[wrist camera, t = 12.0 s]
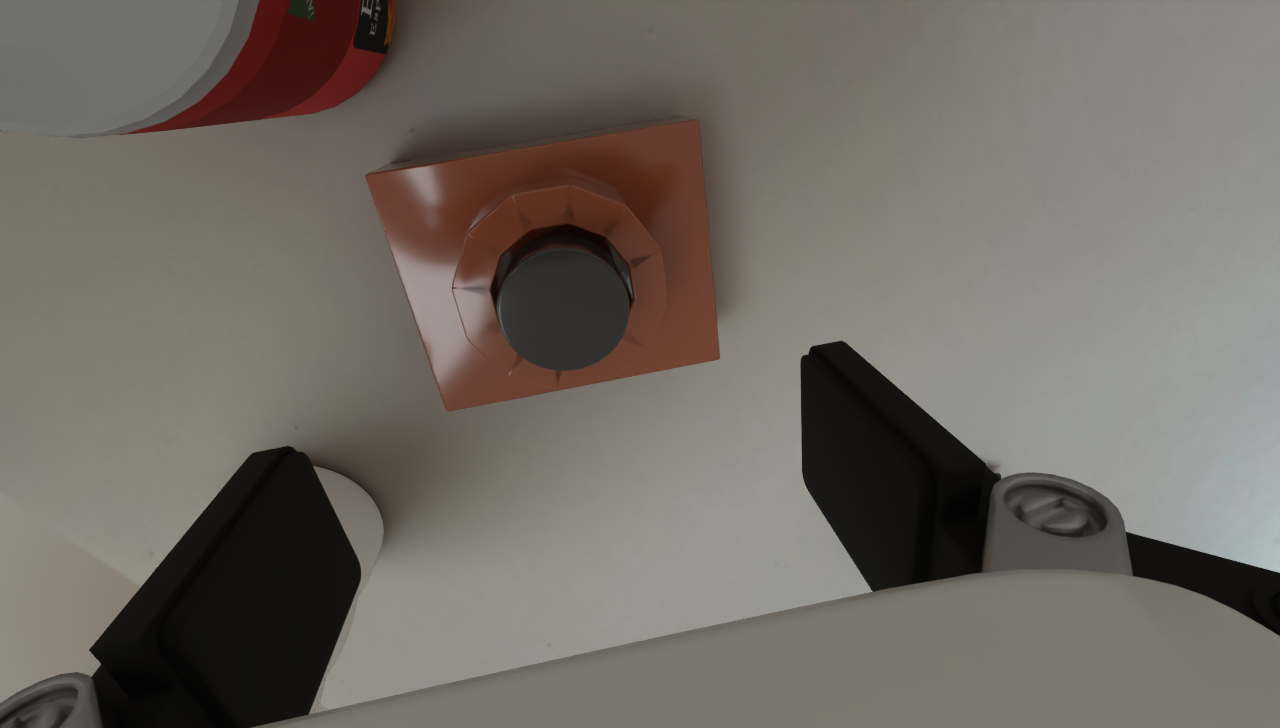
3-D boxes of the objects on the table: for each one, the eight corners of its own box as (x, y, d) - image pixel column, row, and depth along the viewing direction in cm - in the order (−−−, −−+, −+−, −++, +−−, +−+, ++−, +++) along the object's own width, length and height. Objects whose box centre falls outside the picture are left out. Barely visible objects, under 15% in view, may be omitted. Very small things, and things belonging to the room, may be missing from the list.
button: (518, 355, 20) (514, 382, 18) (488, 243, 18) (481, 261, 16) (630, 334, 20) (638, 359, 18) (612, 222, 18) (618, 236, 17)
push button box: (457, 378, 25) (437, 441, 21) (388, 163, 21) (343, 183, 17) (702, 331, 26) (734, 382, 21) (680, 115, 22) (714, 122, 17)
